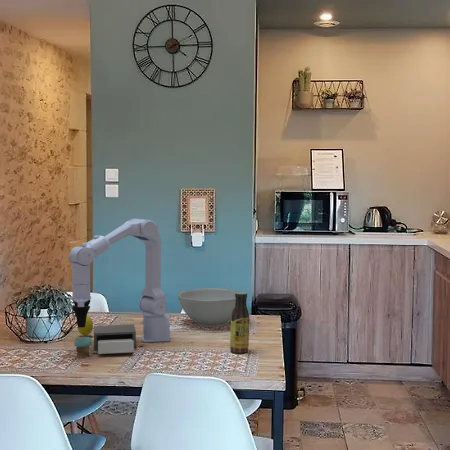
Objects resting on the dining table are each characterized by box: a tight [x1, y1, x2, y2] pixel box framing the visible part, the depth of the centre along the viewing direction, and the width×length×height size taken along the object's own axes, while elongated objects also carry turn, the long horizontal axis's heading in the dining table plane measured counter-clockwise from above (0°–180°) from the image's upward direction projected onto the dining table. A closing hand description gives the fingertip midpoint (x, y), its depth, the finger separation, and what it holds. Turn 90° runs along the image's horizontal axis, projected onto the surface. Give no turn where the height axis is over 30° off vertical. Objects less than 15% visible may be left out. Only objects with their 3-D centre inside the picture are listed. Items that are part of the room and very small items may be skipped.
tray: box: [97, 339, 134, 355], centre depth 215 cm, size 11×10×4 cm
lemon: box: [77, 315, 94, 337], centre depth 236 cm, size 6×6×8 cm
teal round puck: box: [73, 336, 93, 348], centre depth 212 cm, size 6×6×2 cm
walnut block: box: [76, 346, 90, 358], centre depth 212 cm, size 4×4×4 cm
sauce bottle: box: [229, 291, 251, 354], centre depth 217 cm, size 6×6×20 cm
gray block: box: [93, 323, 137, 352], centre depth 224 cm, size 14×11×6 cm
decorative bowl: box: [177, 287, 242, 329], centre depth 257 cm, size 27×27×12 cm
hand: (81, 324), depth 213 cm, fingers open, 7 cm apart
